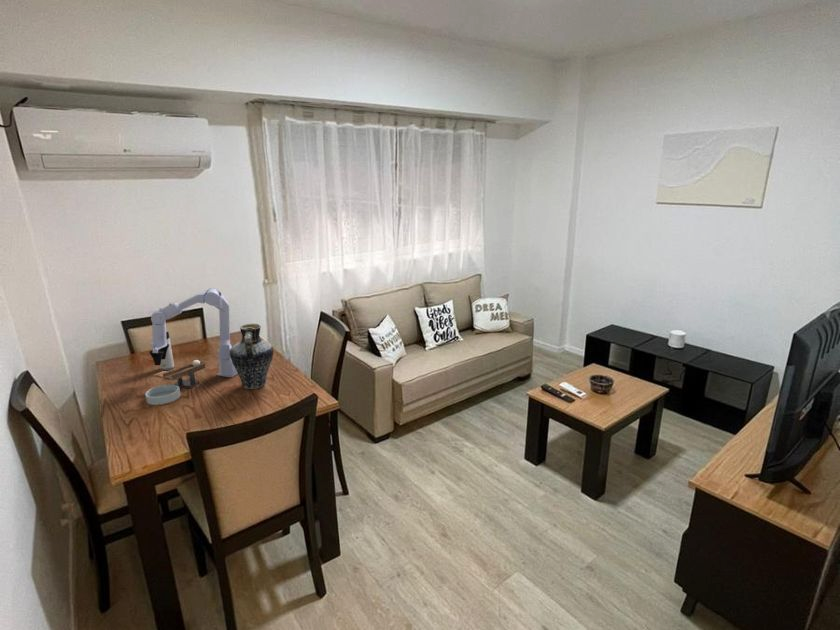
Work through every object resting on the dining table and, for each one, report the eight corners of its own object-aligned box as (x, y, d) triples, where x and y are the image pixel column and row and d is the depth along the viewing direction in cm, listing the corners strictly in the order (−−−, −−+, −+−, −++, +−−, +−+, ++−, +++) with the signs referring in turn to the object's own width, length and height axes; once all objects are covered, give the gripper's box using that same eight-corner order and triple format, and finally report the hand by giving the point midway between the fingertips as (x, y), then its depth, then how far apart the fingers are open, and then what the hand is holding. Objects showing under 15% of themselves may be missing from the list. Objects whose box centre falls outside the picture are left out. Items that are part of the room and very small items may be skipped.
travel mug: (165, 371, 231) (159, 335, 225) (158, 369, 234) (152, 332, 228) (177, 367, 236) (171, 331, 230) (170, 365, 239) (164, 329, 233)
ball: (201, 366, 223) (202, 359, 223) (196, 367, 219) (196, 360, 219) (195, 366, 224) (196, 359, 224) (190, 367, 220) (190, 360, 220)
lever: (205, 369, 224) (204, 361, 223) (173, 382, 205) (172, 373, 204) (185, 366, 227) (184, 358, 226) (151, 379, 208) (151, 370, 207)
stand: (199, 383, 218) (197, 370, 216) (191, 388, 213) (189, 374, 211) (182, 381, 220) (180, 368, 218) (174, 385, 216) (172, 372, 214)
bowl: (186, 393, 208) (185, 386, 207) (163, 406, 196) (162, 399, 195) (163, 389, 212) (162, 382, 211) (139, 402, 200) (138, 395, 198)
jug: (233, 380, 222) (226, 322, 213) (274, 373, 229) (268, 317, 221) (234, 398, 204) (226, 336, 195) (279, 390, 211) (273, 330, 202)
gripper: (154, 330, 219) (155, 356, 223) (144, 339, 206) (145, 367, 209) (170, 330, 221) (171, 356, 224) (161, 340, 207) (162, 367, 211)
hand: (160, 362), depth 217 cm, fingers open, 7 cm apart
